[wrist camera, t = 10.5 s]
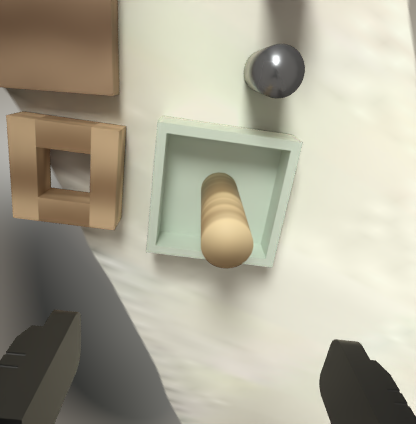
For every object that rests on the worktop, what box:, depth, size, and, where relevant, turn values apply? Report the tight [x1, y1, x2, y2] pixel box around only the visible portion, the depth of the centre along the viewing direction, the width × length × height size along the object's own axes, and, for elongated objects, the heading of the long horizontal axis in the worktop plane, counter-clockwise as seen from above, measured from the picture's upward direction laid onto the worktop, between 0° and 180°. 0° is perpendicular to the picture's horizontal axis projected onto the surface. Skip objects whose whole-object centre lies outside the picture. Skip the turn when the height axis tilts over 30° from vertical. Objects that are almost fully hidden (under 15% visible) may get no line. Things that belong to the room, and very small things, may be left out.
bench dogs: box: [244, 44, 305, 98], centre depth 22 cm, size 10×3×6 cm, turn 172°
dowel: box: [201, 172, 253, 268], centre depth 25 cm, size 3×3×10 cm
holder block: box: [6, 111, 126, 230], centre depth 28 cm, size 8×8×2 cm
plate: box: [0, 0, 119, 96], centre depth 24 cm, size 10×10×2 cm
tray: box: [146, 116, 303, 268], centre depth 28 cm, size 10×10×3 cm
